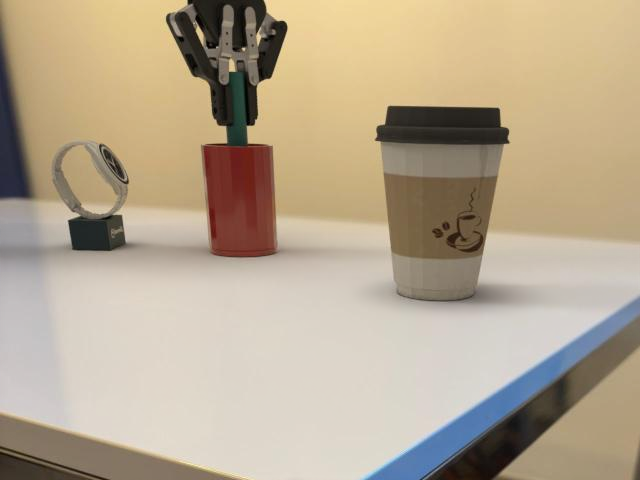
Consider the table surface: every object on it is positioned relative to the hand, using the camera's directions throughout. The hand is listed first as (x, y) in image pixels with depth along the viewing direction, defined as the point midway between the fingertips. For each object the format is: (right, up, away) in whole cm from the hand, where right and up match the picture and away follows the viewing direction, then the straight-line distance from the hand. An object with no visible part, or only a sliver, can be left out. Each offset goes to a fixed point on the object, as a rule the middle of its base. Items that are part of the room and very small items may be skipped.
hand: (235, 125), depth 83 cm
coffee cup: (+20, -21, -12) cm, 32 cm away
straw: (0, -9, +5) cm, 10 cm away
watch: (-17, -11, +8) cm, 21 cm away
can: (0, -11, +6) cm, 13 cm away
